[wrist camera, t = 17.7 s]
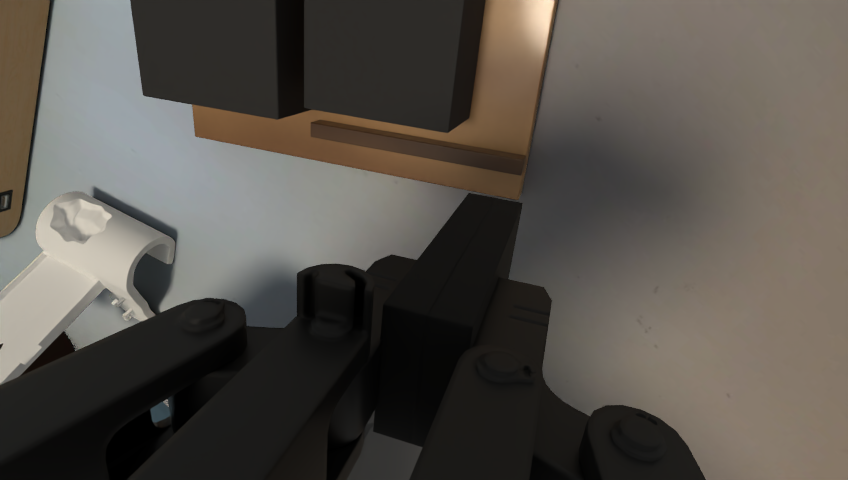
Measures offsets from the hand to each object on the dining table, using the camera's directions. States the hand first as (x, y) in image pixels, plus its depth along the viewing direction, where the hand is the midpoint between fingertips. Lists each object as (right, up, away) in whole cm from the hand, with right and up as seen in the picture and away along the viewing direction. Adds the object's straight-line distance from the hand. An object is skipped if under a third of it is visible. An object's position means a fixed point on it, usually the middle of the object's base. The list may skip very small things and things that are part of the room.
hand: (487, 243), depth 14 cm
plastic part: (-24, -1, +24) cm, 34 cm away
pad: (-11, +12, +13) cm, 20 cm away
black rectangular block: (-2, +10, +10) cm, 15 cm away
